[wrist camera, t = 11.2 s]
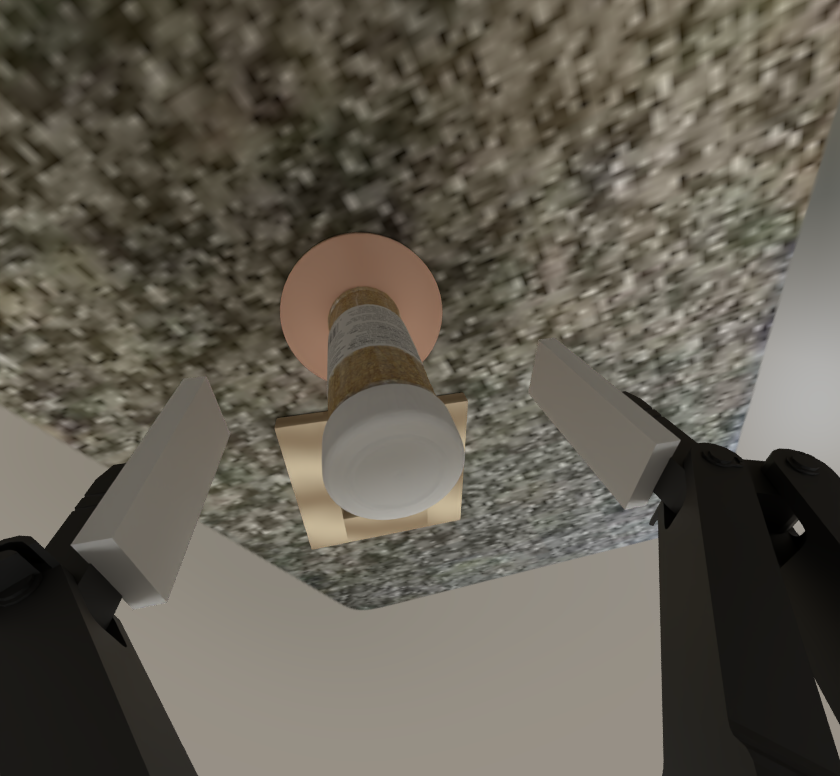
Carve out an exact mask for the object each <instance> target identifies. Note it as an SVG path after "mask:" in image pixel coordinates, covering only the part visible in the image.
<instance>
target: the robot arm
mask: <svg viewBox="0 0 840 776" xmlns="http://www.w3.org/2000/svg"><path fill="white" fill-rule="evenodd" d="M529 394H530V396H531V397H532V398H533V399H534V400H535V402H536V403H537V404H538V405H539V406H540V408H541V409H542V410H543V411H544V413H545V414H546V415H547V416H548V417H549V419H550V420H551V421H552V422H553V423H554V425H555V426H556V427H557V428H558V429H559V431H560V432H561V433H562V434H563V435H564V437H565V438H566V439H567V440H568V442H569V443H570V444H571V445H572V446H573V448H574V449H575V450H576V451H577V452H578V454H579V455H580V456H581V457H582V458H583V460H584V461H585V462H586V463H587V464H588V466H589V467H590V468H591V469H592V471H593V472H594V473H595V474H596V475H597V477H598V478H599V479H600V480H601V481H602V483H603V484H604V485H605V486H606V487H607V489H608V490H609V491H610V492H611V493H612V495H613V496H614V497H615V498H616V500H617V501H618V502H619V503H620V504H621V506H622V507H623V508H624V509H630V508H635V507H640V506H645V505H647V503H648V501H649V499H650V497H651V495H652V493H653V492H654V493H655V494H656V495H657V496H658V497H659V498H660V499H661V502H660V504H659V506H658V507H657V509H656V511H655V513H654V515H653V516H652V518H651V520H650V523H649V525H652V526H653V525H654V524H655V522H656V520H658V539H659V582H660V626H661V669H662V708H663V709H662V712H663V754H664V763H663V764H664V765H663V774H662V776H840V759H839V756H838V752H837V749H836V746H835V743H834V740H833V737H832V734H831V730H830V727H829V724H828V721H827V717H826V714H825V711H824V708H823V705H822V701H821V698H820V695H819V692H818V689H817V686H816V682H817V683H818V685H819V687H820V689H821V691H822V693H823V695H824V696H825V698H826V700H827V702H828V704H829V705H830V708H831V709H832V711H833V713H834V715H835V716H836V719H837V720H838V722H839V724H840V477H839V476H838V475H837V474H836V473H835V472H834V471H833V470H832V469H831V468H829V467H828V466H827V465H826V464H825V463H823V462H821V461H820V460H818V459H816V458H815V457H813V456H811V455H809V454H805V453H803V452H800V451H795V450H791V449H777V450H774V451H772V453H771V454H770V455H769V457H768V458H767V459H766V461H756V460H744V459H742V458H741V457H739V456H738V455H737V454H736V453H734V452H732V451H731V450H729V449H727V448H725V447H722V446H719V445H716V444H711V443H697V442H695V441H694V440H693V439H691V438H690V437H689V436H688V435H686V434H685V433H684V432H683V431H681V430H680V429H679V428H677V427H676V426H675V425H674V424H672V423H671V422H670V421H669V420H667V419H666V418H665V417H662V416H661V414H660V413H658V412H657V411H656V410H654V409H653V410H652V407H651V406H649V405H648V404H647V403H646V402H644V401H643V400H642V399H640V398H638V397H636V396H634V395H632V394H630V393H628V392H626V391H624V392H621V391H620V390H619V389H617V388H616V387H615V386H614V385H612V384H611V383H610V382H609V381H608V380H606V379H605V378H604V377H603V376H601V375H600V374H599V373H598V372H596V371H595V370H594V369H593V368H592V367H590V366H589V365H588V364H587V363H585V362H584V361H583V360H582V359H581V358H579V357H578V356H577V355H576V354H574V353H573V352H572V351H571V350H569V349H568V348H567V347H566V346H565V345H563V344H562V343H561V342H560V341H558V340H557V339H556V338H549V339H540V340H538V345H537V351H536V356H535V361H534V366H533V372H532V377H531V382H530V387H529ZM229 436H230V432H229V429H228V427H227V424H226V422H225V420H224V417H223V415H222V412H221V410H220V408H219V405H218V403H217V400H216V398H215V396H214V393H213V391H212V388H211V386H210V383H209V381H208V379H207V376H203V377H194V378H185V379H183V380H182V382H181V383H180V385H179V386H178V388H177V389H176V391H175V392H174V394H173V395H172V397H171V398H170V399H169V401H168V402H167V404H166V405H165V407H164V408H163V410H162V411H161V413H160V414H159V416H158V417H157V419H156V420H155V422H154V423H153V424H152V426H151V427H150V429H149V430H148V432H147V433H146V435H145V436H144V438H143V439H142V441H141V442H140V444H139V445H138V447H137V448H136V450H135V451H134V452H133V454H132V455H131V457H130V458H129V460H128V461H127V463H124V464H117V465H113V466H112V467H111V468H109V469H108V470H107V471H106V472H105V473H103V474H102V475H101V476H100V477H98V478H97V479H96V480H95V482H94V483H93V484H92V485H91V487H90V488H89V489H88V491H87V492H86V494H85V497H84V498H82V499H81V500H80V502H79V503H78V505H77V506H76V507H75V511H73V512H71V514H70V515H69V517H68V518H67V519H66V521H65V522H64V523H63V525H62V526H61V527H60V529H59V530H58V531H57V533H56V534H55V535H54V537H53V538H52V540H51V541H50V542H49V544H48V545H47V546H46V548H45V549H44V548H43V547H42V546H41V545H40V544H39V543H38V542H37V541H36V540H34V539H33V538H32V537H31V536H16V537H12V538H8V539H3V540H1V541H0V776H198V775H197V773H196V771H195V769H194V767H193V765H192V763H191V761H190V759H189V757H188V755H187V753H186V751H185V749H184V747H183V745H182V744H181V741H180V739H179V737H178V735H177V733H176V731H175V729H174V728H173V725H172V723H171V721H170V719H169V717H168V715H167V713H166V711H165V709H164V707H163V705H162V703H161V701H160V699H159V697H158V695H157V693H156V691H155V689H154V687H153V685H152V683H151V681H150V679H149V677H148V675H147V673H146V671H145V669H144V667H143V665H142V663H141V661H140V659H139V657H138V655H137V653H136V651H135V649H134V647H133V645H132V643H131V642H130V639H129V637H128V635H127V633H126V631H125V630H124V628H123V625H122V623H121V622H120V620H119V619H118V618H117V617H116V616H115V615H114V613H115V611H116V609H117V607H118V605H119V603H120V601H121V599H122V598H123V599H124V600H125V602H126V603H128V605H129V606H130V607H131V608H132V609H138V608H143V607H148V606H152V605H157V604H162V603H167V601H168V598H169V595H170V593H171V590H172V587H173V585H174V582H175V580H176V577H177V574H178V571H179V569H180V566H181V564H182V561H183V558H184V556H185V553H186V550H187V548H188V545H189V542H190V540H191V537H192V534H193V531H194V529H195V526H196V524H197V521H198V518H199V516H200V513H201V510H202V508H203V505H204V502H205V500H206V497H207V494H208V492H209V489H210V486H211V484H212V481H213V478H214V476H215V473H216V470H217V468H218V465H219V462H220V460H221V457H222V454H223V452H224V449H225V446H226V444H227V441H228V438H229ZM798 520H799V521H800V522H801V524H802V525H803V527H804V529H805V532H804V533H803V534H802V535H800V536H799V535H798V534H797V533H796V531H795V530H794V528H793V526H794V524H795V523H796V522H797V521H798ZM814 678H815V679H814ZM815 680H816V682H815Z"/></svg>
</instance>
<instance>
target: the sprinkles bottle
mask: <svg viewBox="0 0 840 776" xmlns="http://www.w3.org/2000/svg"><path fill="white" fill-rule="evenodd" d="M328 329H329V336H328V359H327V397H328V421H327V423H326V426H325V428H324V432H323V437H322V476H323V482H324V485H325V488H326V490H327V492H328V494H329V495H330V497H331V498H332V499H333V501H334V502H335V503H336V504H337V505H339V506H340V507H341V508H343V509H344V510H346V511H347V512H349V513H351V514H354V515H356V516H359V517H363V518H367V519H375V520H391V519H398V518H403V517H408V516H411V515H414V514H417V513H420V512H422V511H424V510H426V509H428V508H430V507H431V506H433V505H435V504H436V503H437V502H439V501H440V500H441V499H443V498H444V497H445V496H446V495H447V494H448V493H449V492H450V491H451V490H452V488H453V487H454V486H455V484H456V483H457V481H458V479H459V478H460V475H461V473H462V470H463V467H464V461H465V451H464V446H463V442H462V439H461V437H460V434H459V432H458V430H457V427H456V425H455V423H454V421H453V419H452V417H451V415H450V413H449V411H448V409H447V407H446V406H445V404H444V403H443V402H442V401H441V400H440V399H439V398H438V397H437V396H436V395H435V393H434V391H433V388H432V386H431V384H430V382H429V380H428V377H427V374H426V372H425V370H424V366H423V363H422V361H421V359H420V356H419V354H418V351H417V349H416V347H415V345H414V343H413V341H412V338H411V336H410V334H409V332H408V330H407V328H406V326H405V324H404V322H403V321H402V320H401V316H400V313H399V309H398V307H397V305H396V304H395V302H394V301H393V300H392V299H391V298H390V297H389V296H388V295H387V294H386V293H385V292H382V291H380V290H378V289H376V288H372V287H356V288H352V289H349V290H347V291H346V292H344V293H342V294H341V295H340V296H339V297H338V298H337V299H336V300H335V301H334V302H333V304H332V307H331V308H330V311H329V315H328Z"/></svg>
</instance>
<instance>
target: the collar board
mask: <svg viewBox="0 0 840 776" xmlns="http://www.w3.org/2000/svg"><path fill="white" fill-rule="evenodd" d="M437 397H438V398H439V399H440V400H441V401H442V402H443V403H444V404H445V406H446V407H447V409H448V411H449V413H450V415H451V417H452V419H453V421H454V423H455V425H456V427H457V430H458V432H459V434H460V437H461V439H462V442H463V446H464V451H465V438H466V422H467V407H468V400H467V399H466V397H465V395H464V393H456V394H449V395H441V396H437ZM327 421H328V411H325V412H318V413H310V414H303V415H296V416H289V417H281V418H277V420H276V424H275V431H276V434H277V438H278V441H279V444H280V447H281V451H282V454H283V457H284V460H285V464H286V467H287V470H288V473H289V477H290V480H291V483H292V486H293V489H294V493H295V496H296V499H297V502H298V506H299V509H300V512H301V515H302V519H303V522H304V525H305V528H306V532H307V535H308V538H309V541H310V545H311V548H312V549H317V548H322V547H327V546H332V545H337V544H342V543H347V542H352V541H357V540H362V539H367V538H372V537H377V536H382V535H387V534H392V533H397V532H402V531H406V530H411V529H416V528H421V527H426V526H431V525H436V524H441V523H446V522H451V521H456V520H460V514H461V499H462V484H463V470H462V473H461V475H460V478H459V479H458V481H457V483H456V484H455V486H454V487H453V488H452V490H451V491H450V492H449V493H448V494H447V495H446V496H445V497H444V498H443V499H441V500H440V501H439V502H437V503H436V504H435V505H433V506H431V507H430V508H428V509H426V510H424V511H422V512H420V513H417V514H414V515H411V516H408V517H403V518H398V519H391V520H375V519H367V518H363V517H359V516H356V515H354V514H351V513H349V512H347V511H346V510H344V509H343V508H341V507H340V506H339V505H337V504H336V503H335V502H334V501H333V499H332V498H331V497H330V495H329V494H328V492H327V490H326V488H325V485H324V482H323V476H322V437H323V432H324V428H325V426H326V423H327ZM463 468H464V467H463Z"/></svg>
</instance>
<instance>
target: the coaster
mask: <svg viewBox="0 0 840 776" xmlns="http://www.w3.org/2000/svg"><path fill="white" fill-rule="evenodd" d="M356 287H372V288H376V289H378V290H380V291H382V292H385V293H386V294H387V295H388V296H389V297H390V298H391V299H392V300H393V301H394V302H395V304H396V305H397V307H398V309H399V313H400V316H401V320H402V321H403V322H404V324H405V326H406V328H407V330H408V332H409V334H410V336H411V338H412V341H413V343H414V345H415V347H416V349H417V351H418V354H419V356H420V359H421V361H422V362H423V361H424V360H425V359H426V358H427V356H428V355H429V353H430V352H431V350H432V349H433V347H434V345H435V343H436V341H437V338H438V335H439V332H440V328H441V323H442V301H441V296H440V292H439V289H438V286H437V283H436V281H435V279H434V277H433V275H432V273H431V272H430V270H429V269H428V267H427V266H426V265H425V264H424V263H423V261H422V260H421V259H420V258H419V257H418V256H417V255H416V254H415V253H414V252H412V251H411V250H410V249H409V248H408V247H406V246H404V245H403V244H401V243H400V242H398V241H396V240H393V239H391V238H389V237H386V236H383V235H379V234H374V233H368V232H352V233H344V234H340V235H336V236H333V237H330V238H328V239H326V240H323V241H321V242H320V243H318V244H317V245H315V246H313V247H312V248H311V249H309V250H308V251H307V252H306V253H305V254H304V255H303V256H302V257H301V258H300V259H299V260H298V261H297V263H296V264H295V266H294V267H293V269H292V270H291V272H290V274H289V276H288V278H287V281H286V283H285V285H284V289H283V292H282V296H281V304H280V319H281V325H282V330H283V333H284V336H285V339H286V341H287V343H288V345H289V347H290V349H291V350H292V352H293V353H294V355H295V356H296V357H297V359H298V360H299V361H300V362H301V363H302V364H303V365H304V366H305V367H306V368H307V369H308V370H310V371H311V372H312V373H314V374H315V375H317V376H318V377H320V378H322V379H324V380H326V381H327V359H328V336H329V329H328V315H329V311H330V308H331V307H332V304H333V302H334V301H335V300H336V299H337V298H338V297H339V296H340V295H341V294H342V293H344V292H346V291H347V290H349V289H352V288H356Z"/></svg>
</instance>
